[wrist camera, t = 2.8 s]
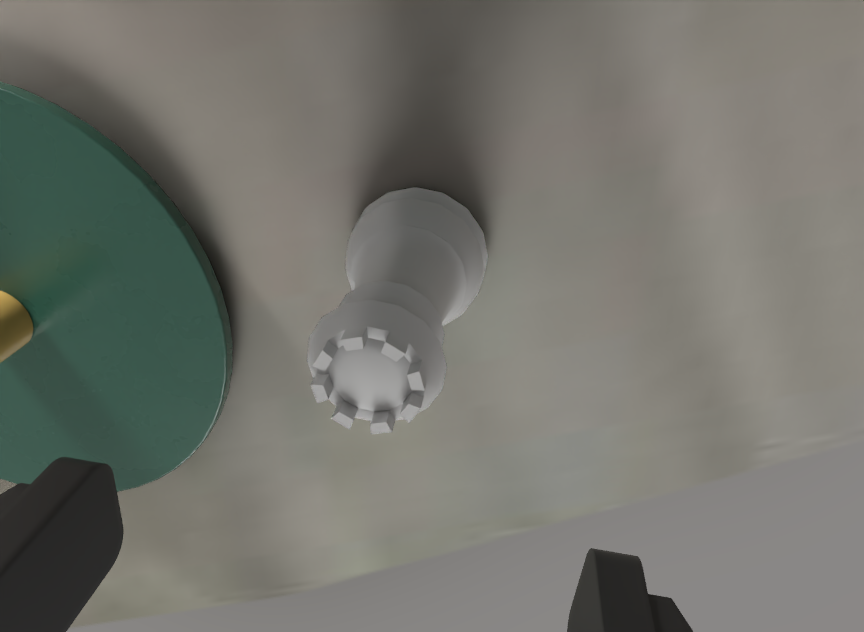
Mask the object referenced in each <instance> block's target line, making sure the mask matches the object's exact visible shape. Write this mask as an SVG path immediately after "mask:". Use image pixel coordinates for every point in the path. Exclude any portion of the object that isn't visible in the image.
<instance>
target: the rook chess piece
mask: <svg viewBox="0 0 864 632" xmlns="http://www.w3.org/2000/svg"><path fill="white" fill-rule="evenodd" d="M487 261H488V253H487V248H486V243H485V238H484V233H483V231H482V229H481V228H480V226H479V225H478V223H477V222H476V220H475V219H474V217H473V216H472V215H471V213H470V212H469V210H468V209H467V208H466V207H464V206H463V205H461V204H460V203H458V202H457V201H455V200H453V199H452V198H450V197H449V196H447V195H446V194H444V193H441V192H437V191H432V190H427V189H422V188H417V187H413V188H408V189H403V190H397V191H392V192H388V193H386V194H385V195H383V196H382V197H380V198H379V199H377V200H376V201H374V202H373V203H371V204H370V205H368V206H367V207H366V208H365V210H364V211H363V213H362V215H361V216H360V218H359V219H358V221H357V223H356V224H355V226H354V228H353V231H352V234H351V236H350V237H349V239H348V245H347V253H346V262H345V270H346V273H347V276H348V280H349V283H350V286H351V289H352V291H351V292H350V293H348V294H346V295H345V297H344V298H343V300H342V302H341V303H340V305H339V306H338V308H336V309H334V310H333V311H331V312H330V313H328V314H326V315H325V316H323V317H322V318H321V319H320V321H319V322H318V324H317V326H316V327H315V329H314V330H313V332H312V333H311V335H310V337H309V343H308V354H307V362H308V365H309V368H310V371H311V374H312V376H313V381H312V383H311V388H312V390H313V393H314V396H315V399H316V401H317V403H319V402H322V401H325V400H328V399H329V400H330V401H331V402H332V403H333V404H334V405H335V406H336V408H335V411H334V413H333V415H332V417H331V419H332V420H334V421H336V422H337V423H339V424H341V425H343V426H344V427H346V428H348V429H350V428H351V425H352V423H353V420H354V418H359V419H364V420H369V421H371V423H370V429H371V434H378V433H388V432H392V430H393V426H394V423H395V420H402V419H405V420H406V421H407V422H408V423H410V422H411V421H412V419H413V418H414V417H415V415H416V414H417V413H419V412H421V411H423V410H425V409H427V408H428V407H429V406H430V405H431V403H432V402H433V401H434V400H435V398H436V397H437V396H438V395H439V393H440V392H441V391H442V389H443V384H444V379H445V375H446V370H447V365H446V361H445V357H444V353H443V349H442V345H443V340H444V335H445V334H444V330H443V325H445V324H447V323H449V322H451V321H452V320H454V319H456V318H458V317H459V316H461V315H462V314H463V313H464V312H465V310H466V309H467V308H468V306H469V305H470V304H471V303H472V301H473V300H474V299H475V297H476V296H477V295H478V293H479V290H480V286H481V283H482V282H483V278H484V274H485V270H486V265H487Z"/></svg>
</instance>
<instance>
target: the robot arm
mask: <svg viewBox="0 0 864 632" xmlns="http://www.w3.org/2000/svg"><path fill="white" fill-rule="evenodd" d="M122 540H123V524H122V518H121V513H120V507H119V501H118V496H117V490H116V485H115V479H114V474H113V470H112V468H111V467H110V466H109V465H108V464H104V463H98V462H92V461H87V460H81V459H75V458H69V457H60V458H58V459H56V460H55V461H53V462H52V463H51V464H50V465H49V466H48V467H47V468H46V469H45V470H44V471H43V472H42V473H41V474H40V475H39V476H38V477H37V478H36V479H35V480H34V481H33V482H32V483H31V484H26V483H19V484H18V485H16V486H14V487H12V488H11V489H9V490H7V491H6V492H4V493H2V494H0V632H66V631H67V630H68V628H69V627H70V625H71V624H72V623H73V621H74V620H75V618H76V617H77V616H78V614H79V613H80V611H81V610H82V608H83V607H84V606H85V604H86V603H87V601H88V600H89V599H90V597H91V596H92V594H93V593H94V592H95V590H96V589H97V587H98V586H99V585H100V583H101V582H102V580H103V579H104V578H105V576H106V575H107V573H108V572H109V570H110V569H111V568H112V566H113V564H114V563H115V561H116V559H117V556H118V554H119V551H120V548H121V545H122ZM567 632H693V631H692V629H691V627H690V626H689V624H688V623H687V622H686V620H685V618H684V617H683V615H682V614H681V613H680V611H679V609H678V608H677V606H676V605H675V603H674V602H673V600H672V599H671V598H668V597H661V596H656V595H650V594H648V593H647V588H646V582H645V577H644V572H643V567H642V564H641V561H640V559H639V557H638V556H633V555H627V554H621V553H615V552H609V551H603V550H597V549H592V548H591V549H590V550H589V551H588V553H587V556H586V559H585V563H584V566H583V569H582V573H581V576H580V579H579V583H578V586H577V589H576V593H575V596H574V600H573V603H572V606H571V610H570V614H569V620H568V629H567Z"/></svg>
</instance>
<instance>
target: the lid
mask: <svg viewBox="0 0 864 632" xmlns="http://www.w3.org/2000/svg"><path fill="white" fill-rule="evenodd" d="M231 374H232V337H231V329H230V322H229V316H228V312H227V309H226V305H225V301H224V298H223V294H222V290H221V287H220V285H219V283H218V280H217V278H216V275H215V273H214V271H213V268H212V266H211V263H210V261H209V259H208V257H207V255H206V253H205V252H204V250H203V248H202V246H201V244H200V243H199V241H198V239H197V237H196V235H195V234H194V232H193V230H192V229H191V227H190V226H189V224H188V223H187V222H186V220H185V219H184V217H183V216H182V214H181V213H180V212H179V210H178V209H177V207H176V206H175V205H174V203H173V202H172V201H171V199H170V198H169V197H168V196H167V195H166V194H165V193H164V191H163V190H162V189H161V188H160V187H159V186H158V185H157V183H156V182H155V181H154V180H153V179H152V178H151V177H150V175H149V174H148V173H147V172H146V171H144V170H143V169H142V168H141V167H140V166H139V165H138V164H137V163H136V162H135V161H134V160H133V159H132V158H131V157H129V156H128V155H127V154H126V153H125V152H124V151H123V150H122V149H121V148H120V147H118V146H117V145H116V144H114V143H113V142H112V141H110V140H109V139H108V138H107V137H105V136H104V135H103V134H101V133H100V132H99V131H97V130H96V129H95V128H93V127H92V126H91V125H89V124H88V123H86V122H84V121H83V120H81V119H79V118H78V117H76V116H74V115H73V114H71V113H69V112H68V111H66V110H65V109H63V108H61V107H60V106H58V105H56V104H54V103H52V102H50V101H47V100H45V99H43V98H41V97H39V96H37V95H35V94H32V93H30V92H28V91H26V90H24V89H21V88H18V87H15V86H12V85H9V84H6V83H3V82H0V479H3V480H6V481H9V482H13V483H16V484H19V483H26V484H31V483H32V482H33V481H34V480H35V479H36V478H37V477H38V476H39V475H40V474H41V473H42V472H43V471H44V470H45V469H46V468H47V467H48V466H49V465H50V464H51V463H52V462H53V461H55V460H56V459H58V458H60V457H69V458H75V459H81V460H87V461H92V462H98V463H104V464H108V465H109V466H110V467H111V468H112V470H113V474H114V479H115V485H116V490H117V492H118V491H122V490H127V489H131V488H135V487H139V486H141V485H144V484H147V483H149V482H152V481H154V480H157V479H159V478H161V477H162V476H164V475H166V474H168V473H169V472H171V471H173V470H174V469H176V468H177V467H179V466H180V465H181V464H182V463H183V462H185V461H186V460H187V459H188V458H189V457H191V456H192V455H193V454H194V452H195V451H196V450H197V449H198V448H199V446H200V445H201V444H202V443H203V442H204V441H205V439H206V438H207V436H208V435H209V434H210V432H211V430H212V429H213V427H214V425H215V423H216V421H217V420H218V418H219V416H220V414H221V412H222V409H223V406H224V404H225V401H226V398H227V395H228V391H229V385H230V380H231Z"/></svg>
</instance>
